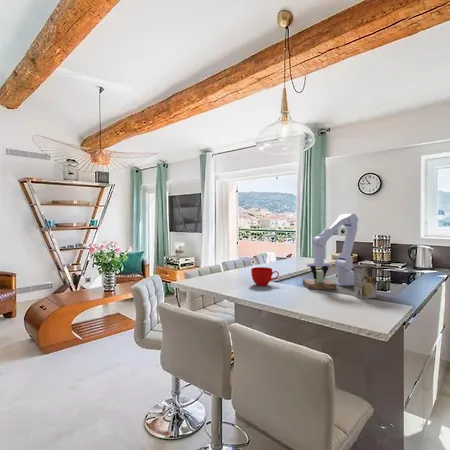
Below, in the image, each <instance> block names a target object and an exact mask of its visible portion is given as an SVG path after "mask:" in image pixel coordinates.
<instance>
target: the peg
mask: <svg viewBox="0 0 450 450" xmlns="http://www.w3.org/2000/svg"><path fill="white" fill-rule="evenodd" d="M324 279H325V278H324V271H322V269H321V270H318V269H316V279H315V282H316V283H324Z"/></svg>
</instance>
